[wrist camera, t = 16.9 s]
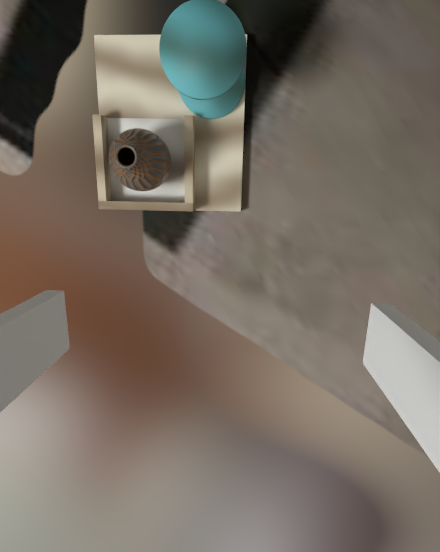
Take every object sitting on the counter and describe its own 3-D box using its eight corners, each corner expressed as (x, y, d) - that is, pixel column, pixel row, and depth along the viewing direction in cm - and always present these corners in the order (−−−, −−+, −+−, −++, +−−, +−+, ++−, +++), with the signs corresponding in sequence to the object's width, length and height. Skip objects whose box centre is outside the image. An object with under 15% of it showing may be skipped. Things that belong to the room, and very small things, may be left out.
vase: (144, 121, 41) (118, 103, 32) (187, 160, 42) (173, 152, 33) (112, 166, 43) (79, 160, 34) (153, 202, 43) (132, 205, 35)
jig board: (97, 38, 40) (47, -14, 30) (247, 38, 39) (248, -17, 29) (108, 207, 45) (68, 212, 35) (240, 210, 44) (240, 217, 34)
